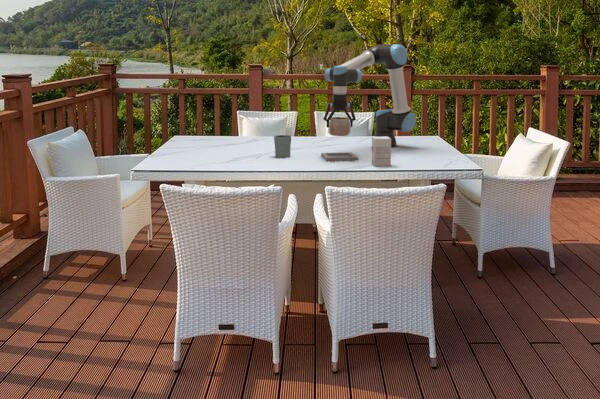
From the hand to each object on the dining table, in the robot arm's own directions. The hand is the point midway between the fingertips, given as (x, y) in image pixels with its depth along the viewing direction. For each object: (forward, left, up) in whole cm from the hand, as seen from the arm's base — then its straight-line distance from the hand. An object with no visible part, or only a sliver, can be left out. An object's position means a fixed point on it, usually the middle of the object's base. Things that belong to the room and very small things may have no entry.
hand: (339, 133), depth 406 cm
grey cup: (+31, -12, -15) cm, 36 cm away
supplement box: (-18, +25, -15) cm, 34 cm away
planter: (0, 0, -1) cm, 1 cm away
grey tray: (0, +1, -14) cm, 15 cm away
